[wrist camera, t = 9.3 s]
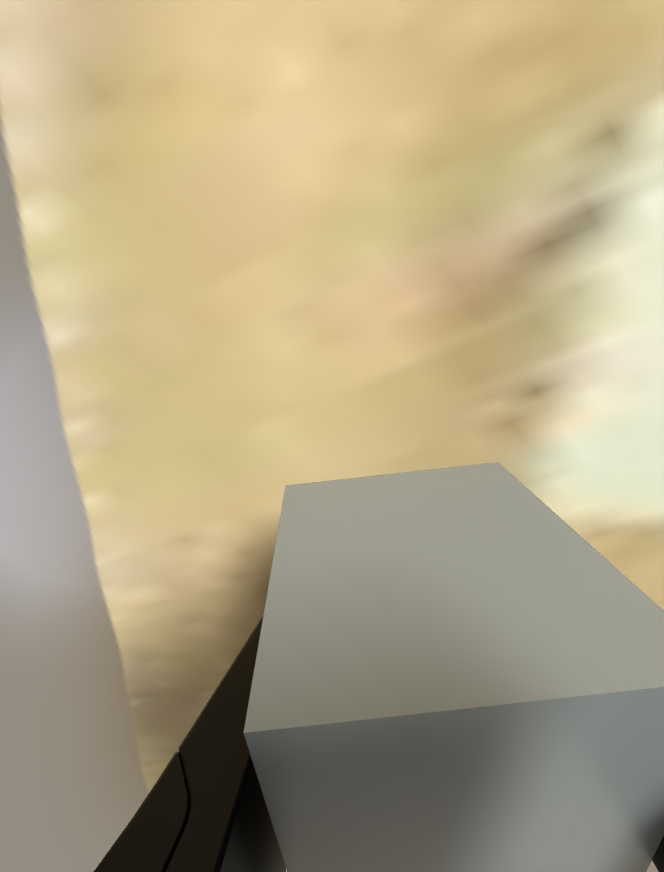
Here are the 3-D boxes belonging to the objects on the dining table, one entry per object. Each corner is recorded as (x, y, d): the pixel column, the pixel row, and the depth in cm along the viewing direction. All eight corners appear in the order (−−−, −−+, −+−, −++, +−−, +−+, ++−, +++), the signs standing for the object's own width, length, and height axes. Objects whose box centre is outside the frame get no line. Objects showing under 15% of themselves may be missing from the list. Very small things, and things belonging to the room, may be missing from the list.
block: (498, 462, 8) (740, 679, 3) (485, 619, 10) (633, 899, 5) (285, 485, 8) (244, 733, 3) (311, 637, 10) (307, 934, 5)
